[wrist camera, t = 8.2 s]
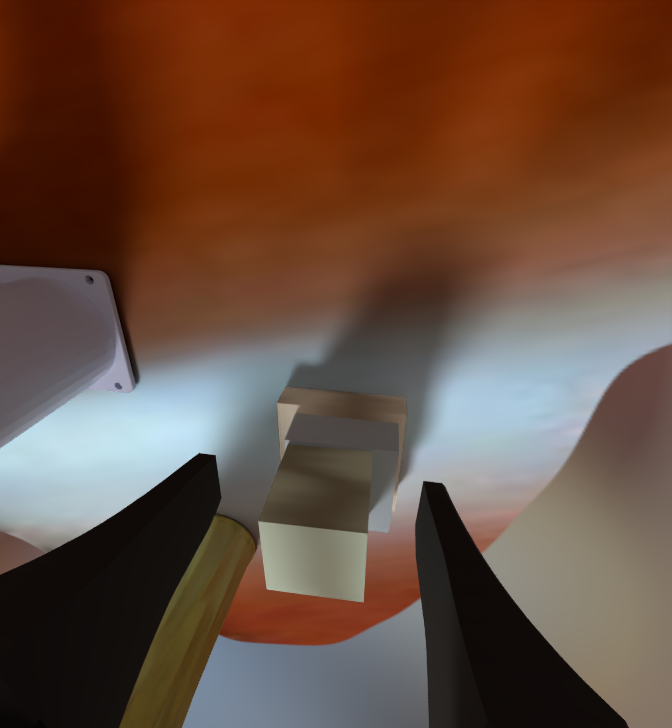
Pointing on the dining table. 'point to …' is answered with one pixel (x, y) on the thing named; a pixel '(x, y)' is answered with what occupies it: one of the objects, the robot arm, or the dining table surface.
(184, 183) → the dining table surface
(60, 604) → the robot arm
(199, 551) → the vase
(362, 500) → the beige matte cube
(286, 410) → the tower base
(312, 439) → the tower top
